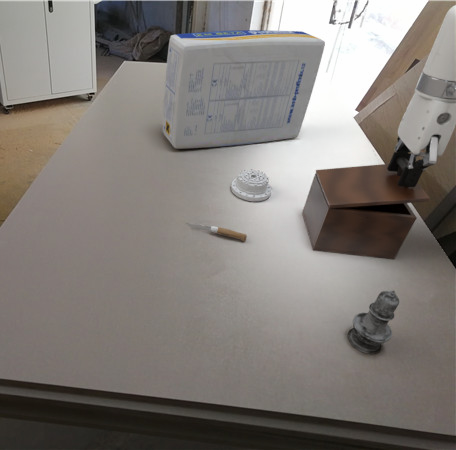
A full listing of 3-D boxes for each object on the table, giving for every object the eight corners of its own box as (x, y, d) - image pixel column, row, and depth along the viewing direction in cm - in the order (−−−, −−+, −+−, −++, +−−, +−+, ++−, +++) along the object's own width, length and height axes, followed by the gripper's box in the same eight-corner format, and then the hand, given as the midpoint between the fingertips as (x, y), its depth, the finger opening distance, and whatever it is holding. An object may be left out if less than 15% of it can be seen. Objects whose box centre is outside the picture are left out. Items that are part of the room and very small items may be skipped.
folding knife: (183, 228, 89) (184, 221, 87) (185, 224, 90) (186, 217, 89) (244, 244, 85) (246, 236, 84) (246, 239, 87) (247, 232, 85)
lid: (402, 165, 86) (406, 145, 83) (428, 201, 75) (435, 179, 72) (315, 173, 89) (317, 153, 86) (329, 208, 78) (331, 187, 75)
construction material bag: (280, 124, 136) (305, 27, 118) (300, 139, 127) (329, 37, 109) (160, 136, 124) (166, 31, 106) (172, 153, 116) (181, 42, 98)
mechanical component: (246, 176, 108) (222, 189, 102) (249, 162, 105) (225, 174, 99) (278, 192, 102) (254, 207, 96) (282, 177, 99) (258, 191, 94)
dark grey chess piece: (376, 362, 64) (408, 312, 57) (340, 340, 67) (366, 290, 60) (388, 340, 67) (420, 290, 60) (353, 320, 70) (380, 271, 63)
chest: (373, 220, 95) (392, 181, 88) (394, 259, 84) (417, 217, 77) (302, 212, 96) (315, 173, 89) (312, 250, 85) (328, 208, 78)
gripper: (492, 106, 62) (438, 204, 73) (443, 72, 76) (404, 159, 86) (440, 102, 63) (395, 200, 74) (401, 70, 76) (368, 156, 87)
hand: (400, 177), depth 80 cm, fingers closed on lid, 5 cm apart
